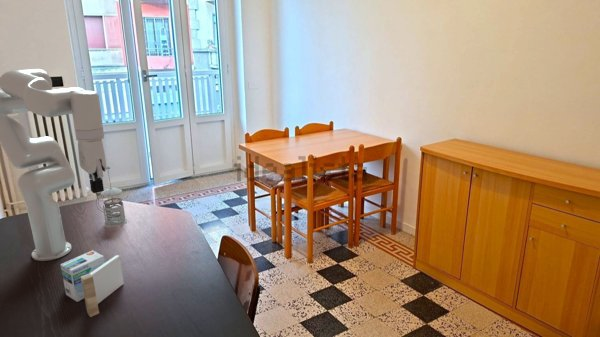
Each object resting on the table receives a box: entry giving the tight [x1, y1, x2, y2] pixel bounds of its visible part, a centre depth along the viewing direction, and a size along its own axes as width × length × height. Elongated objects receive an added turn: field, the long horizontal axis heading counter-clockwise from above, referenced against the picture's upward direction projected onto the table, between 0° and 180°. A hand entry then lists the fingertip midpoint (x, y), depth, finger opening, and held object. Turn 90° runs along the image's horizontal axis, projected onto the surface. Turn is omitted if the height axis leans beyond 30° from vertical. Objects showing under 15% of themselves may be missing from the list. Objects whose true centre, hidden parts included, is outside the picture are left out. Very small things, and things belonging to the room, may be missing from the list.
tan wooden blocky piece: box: [81, 273, 100, 318], centre depth 124 cm, size 20×2×12 cm, turn 44°
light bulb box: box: [60, 249, 106, 303], centre depth 129 cm, size 11×7×11 cm, turn 146°
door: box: [90, 254, 125, 305], centre depth 126 cm, size 14×1×10 cm, turn 162°
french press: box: [95, 165, 129, 229], centre depth 173 cm, size 10×12×25 cm
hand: (97, 191), depth 130 cm, fingers closed
